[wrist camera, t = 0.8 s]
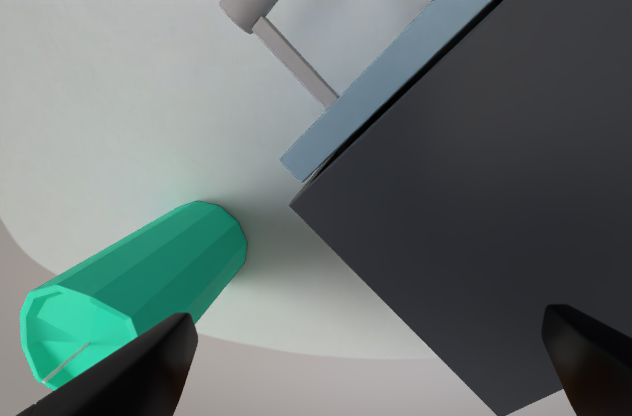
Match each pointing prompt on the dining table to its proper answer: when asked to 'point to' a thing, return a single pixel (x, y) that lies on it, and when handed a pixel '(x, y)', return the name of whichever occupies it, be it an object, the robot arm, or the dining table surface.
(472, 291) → the dark grey box
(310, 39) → the dining table surface
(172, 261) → the candle
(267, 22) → the drawer
